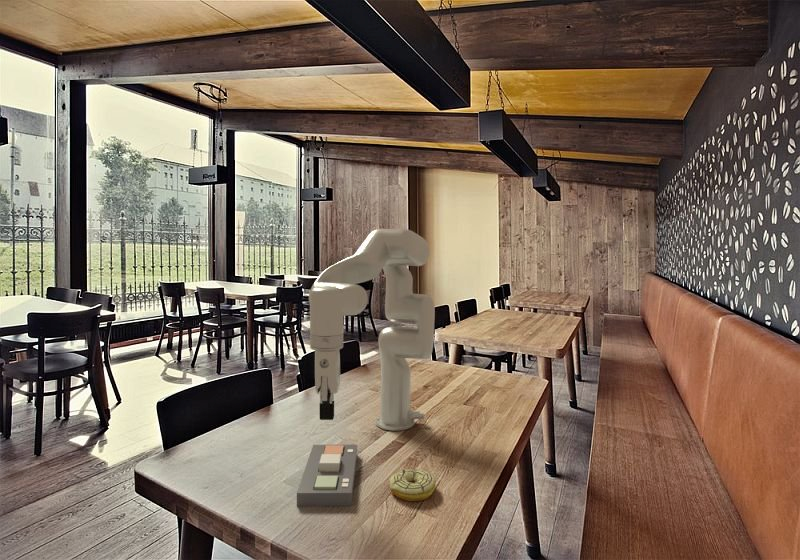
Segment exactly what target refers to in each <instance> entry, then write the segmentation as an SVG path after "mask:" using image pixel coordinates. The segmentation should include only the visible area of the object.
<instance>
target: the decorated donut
mask: <svg viewBox="0 0 800 560" xmlns="http://www.w3.org/2000/svg"><path fill="white" fill-rule="evenodd" d="M389 490H390V491H391V494H392V495H394V496H395V497H397V498H398V499H401V500H403V501H408V502H420V501H424V500H427V499H429V498H430V497H431V496H432V495H433V493H434V492H435V490H436V478H435V476H434V475H433V474H431V473H430V472H428V471H426V470H423V469H417V468H411V469H407V468H406V469H402V470H400V471H397V472H396V473H394V474H393V475H391V477H390V478H389Z"/></svg>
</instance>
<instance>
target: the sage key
mask: <svg viewBox="0 0 800 560" xmlns="http://www.w3.org/2000/svg"><path fill="white" fill-rule="evenodd" d="M337 487H338V476H317V479H316V482H315V486H314V490H337Z"/></svg>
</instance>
